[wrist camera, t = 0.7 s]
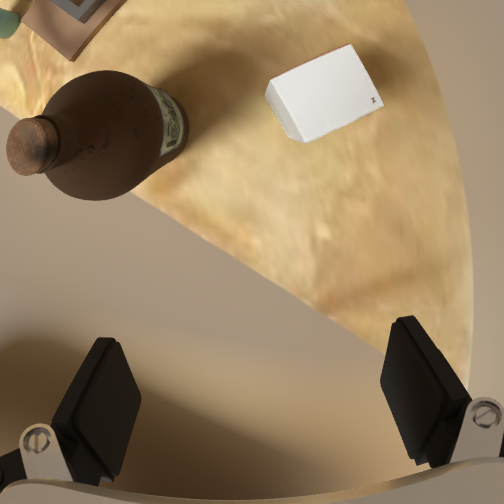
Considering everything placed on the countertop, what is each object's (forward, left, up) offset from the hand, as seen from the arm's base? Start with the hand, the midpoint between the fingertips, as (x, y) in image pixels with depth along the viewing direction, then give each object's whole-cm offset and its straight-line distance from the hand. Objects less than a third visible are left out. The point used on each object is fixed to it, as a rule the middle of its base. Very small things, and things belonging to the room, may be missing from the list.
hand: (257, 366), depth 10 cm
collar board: (-7, -37, -31) cm, 49 cm away
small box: (-12, -3, -31) cm, 34 cm away
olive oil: (+3, -14, -31) cm, 34 cm away
